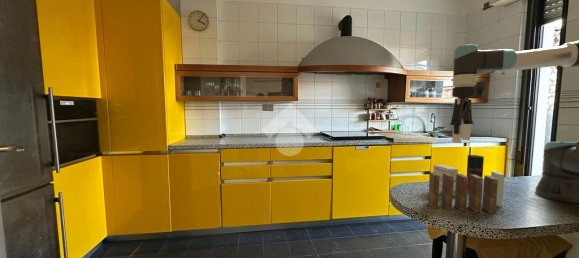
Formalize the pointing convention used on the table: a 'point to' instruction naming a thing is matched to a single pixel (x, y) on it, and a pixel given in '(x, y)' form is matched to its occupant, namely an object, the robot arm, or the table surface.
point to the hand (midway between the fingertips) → (461, 141)
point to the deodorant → (474, 166)
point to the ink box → (440, 170)
